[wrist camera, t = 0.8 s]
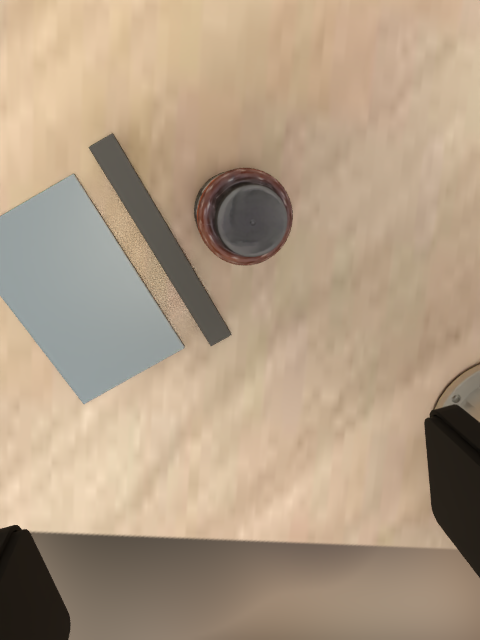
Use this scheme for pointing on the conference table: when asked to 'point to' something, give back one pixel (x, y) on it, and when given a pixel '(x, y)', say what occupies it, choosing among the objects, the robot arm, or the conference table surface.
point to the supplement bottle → (243, 216)
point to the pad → (79, 292)
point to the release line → (159, 237)
